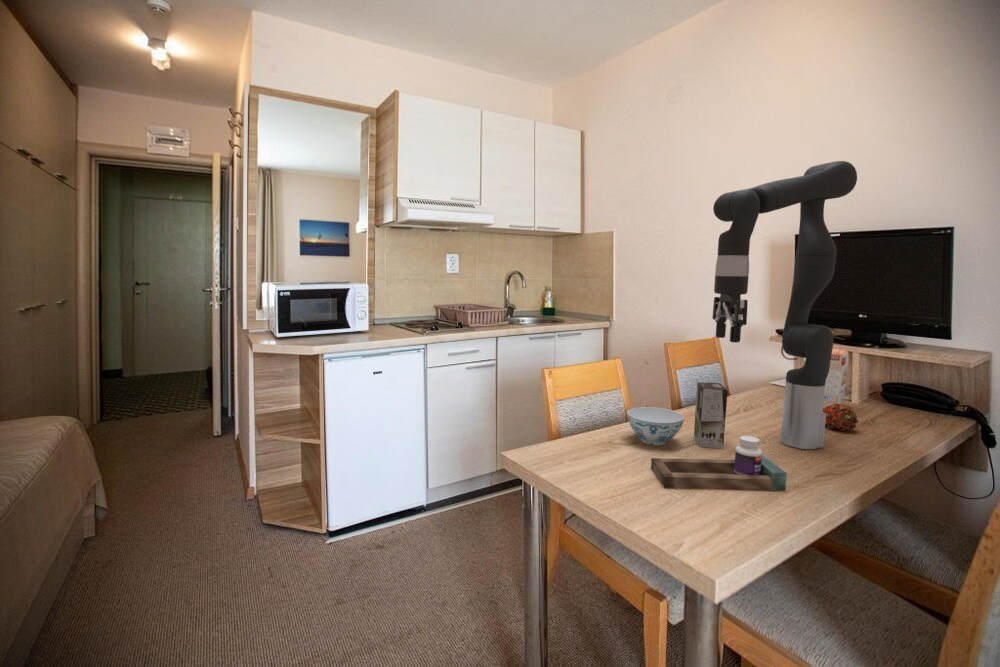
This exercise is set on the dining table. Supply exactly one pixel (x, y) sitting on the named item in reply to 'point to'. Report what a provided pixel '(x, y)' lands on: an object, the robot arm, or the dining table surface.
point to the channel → (767, 479)
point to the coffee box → (710, 414)
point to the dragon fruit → (840, 417)
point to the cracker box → (836, 377)
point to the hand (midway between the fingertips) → (727, 339)
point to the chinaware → (655, 424)
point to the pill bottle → (748, 457)
